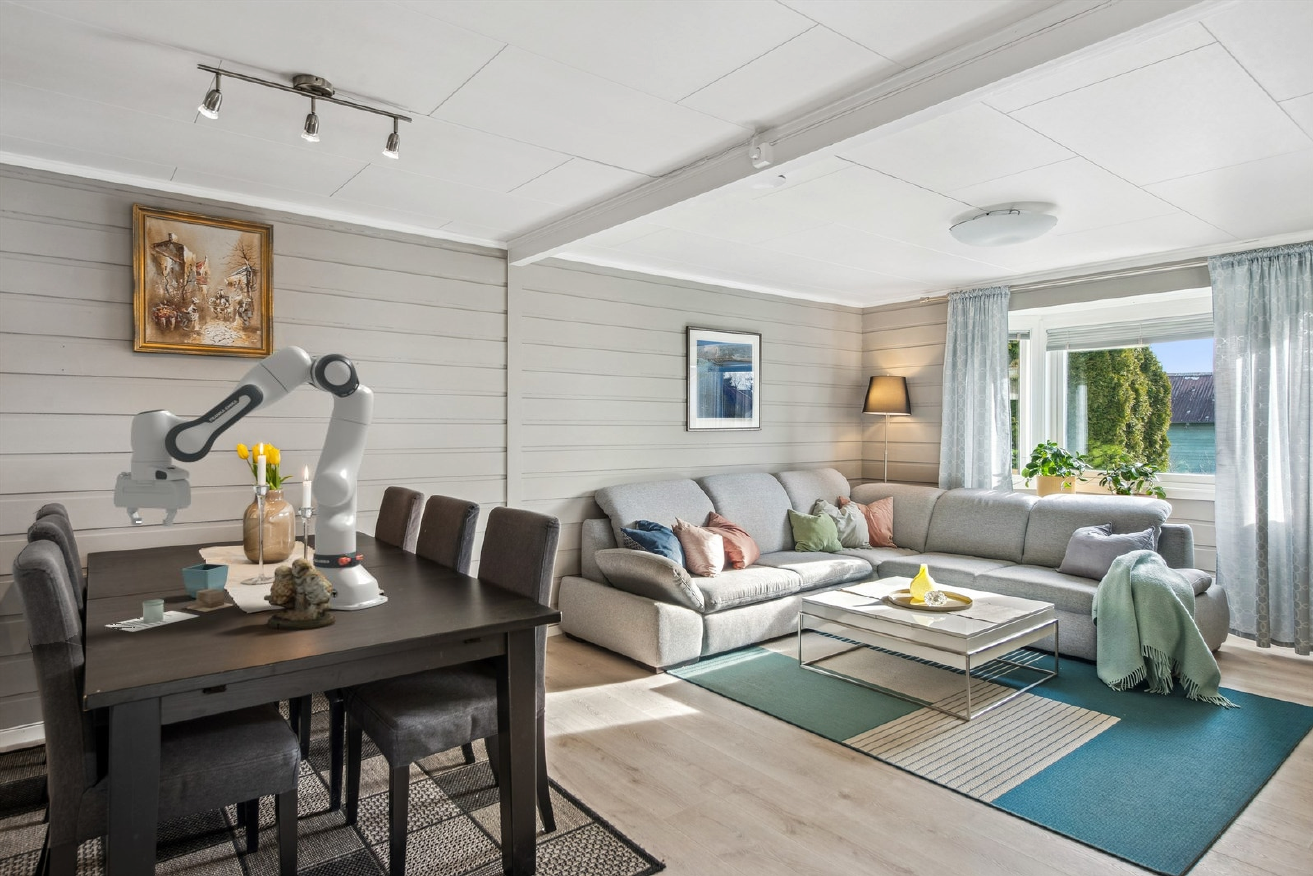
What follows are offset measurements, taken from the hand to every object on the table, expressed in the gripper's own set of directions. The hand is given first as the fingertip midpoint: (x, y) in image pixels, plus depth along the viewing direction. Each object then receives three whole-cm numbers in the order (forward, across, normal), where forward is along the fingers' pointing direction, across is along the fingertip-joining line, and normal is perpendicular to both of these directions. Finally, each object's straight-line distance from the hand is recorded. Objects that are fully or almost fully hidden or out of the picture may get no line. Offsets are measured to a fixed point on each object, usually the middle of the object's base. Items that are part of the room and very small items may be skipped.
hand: (152, 525), depth 197 cm
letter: (+25, 0, 0) cm, 25 cm away
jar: (+25, 0, 0) cm, 25 cm away
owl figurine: (+25, +38, +6) cm, 46 cm away
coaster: (+25, +3, +16) cm, 30 cm away
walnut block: (+24, +3, +16) cm, 29 cm away
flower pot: (+25, -8, +27) cm, 38 cm away
